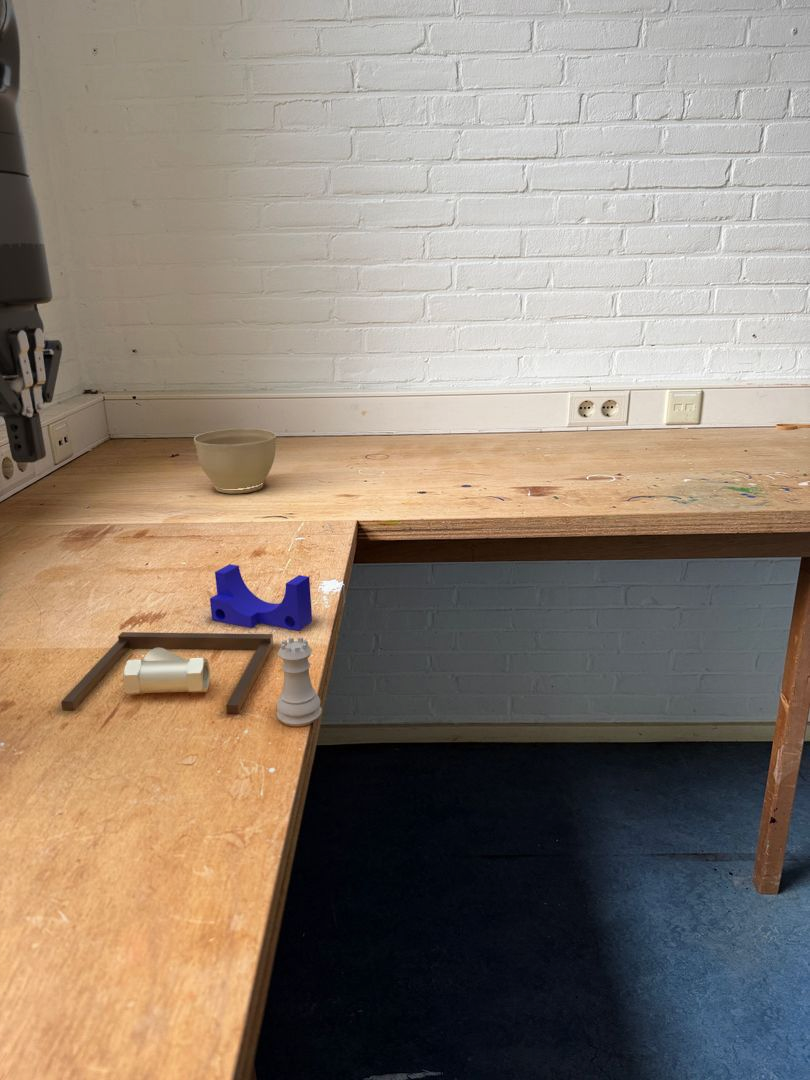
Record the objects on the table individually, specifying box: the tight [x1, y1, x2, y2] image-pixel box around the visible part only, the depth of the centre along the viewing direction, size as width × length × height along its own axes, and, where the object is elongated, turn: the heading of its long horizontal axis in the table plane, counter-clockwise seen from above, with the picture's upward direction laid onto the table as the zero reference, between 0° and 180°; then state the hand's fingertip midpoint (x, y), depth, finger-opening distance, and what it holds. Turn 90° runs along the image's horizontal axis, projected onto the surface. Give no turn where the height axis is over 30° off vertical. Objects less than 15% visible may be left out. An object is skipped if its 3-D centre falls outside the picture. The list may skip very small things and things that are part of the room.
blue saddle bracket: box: [209, 563, 313, 632], centre depth 99 cm, size 12×4×6 cm, turn 65°
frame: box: [60, 631, 274, 714], centre depth 87 cm, size 18×15×2 cm
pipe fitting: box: [123, 648, 211, 696], centre depth 85 cm, size 8×4×7 cm
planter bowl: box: [193, 428, 277, 495], centre depth 161 cm, size 16×16×11 cm
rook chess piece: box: [275, 636, 323, 727], centre depth 77 cm, size 4×4×8 cm
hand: (29, 460), depth 67 cm, fingers closed
